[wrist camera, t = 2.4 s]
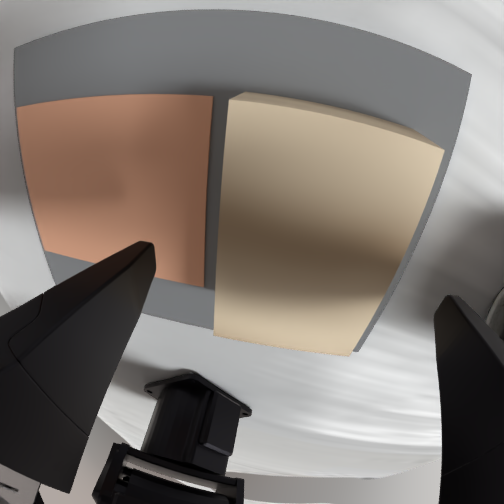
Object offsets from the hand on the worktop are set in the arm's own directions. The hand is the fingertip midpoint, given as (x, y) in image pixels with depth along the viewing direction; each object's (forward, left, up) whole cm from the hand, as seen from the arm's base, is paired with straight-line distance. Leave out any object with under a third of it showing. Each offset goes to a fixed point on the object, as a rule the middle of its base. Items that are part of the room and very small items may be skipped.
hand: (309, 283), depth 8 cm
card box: (0, 0, -3) cm, 3 cm away
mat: (-3, +3, -4) cm, 6 cm away
